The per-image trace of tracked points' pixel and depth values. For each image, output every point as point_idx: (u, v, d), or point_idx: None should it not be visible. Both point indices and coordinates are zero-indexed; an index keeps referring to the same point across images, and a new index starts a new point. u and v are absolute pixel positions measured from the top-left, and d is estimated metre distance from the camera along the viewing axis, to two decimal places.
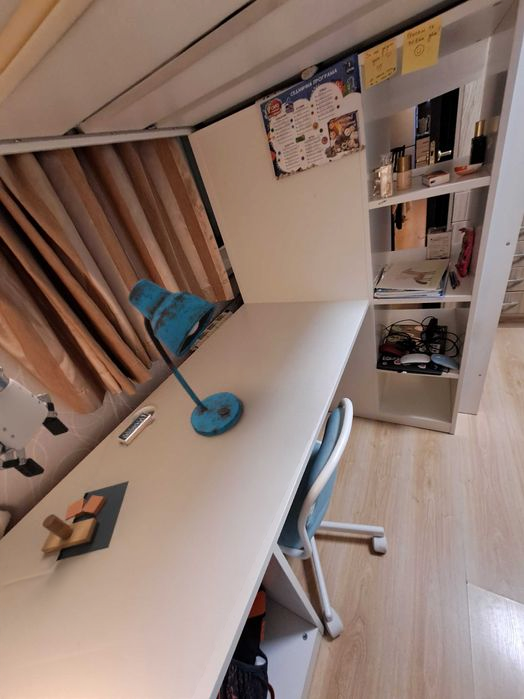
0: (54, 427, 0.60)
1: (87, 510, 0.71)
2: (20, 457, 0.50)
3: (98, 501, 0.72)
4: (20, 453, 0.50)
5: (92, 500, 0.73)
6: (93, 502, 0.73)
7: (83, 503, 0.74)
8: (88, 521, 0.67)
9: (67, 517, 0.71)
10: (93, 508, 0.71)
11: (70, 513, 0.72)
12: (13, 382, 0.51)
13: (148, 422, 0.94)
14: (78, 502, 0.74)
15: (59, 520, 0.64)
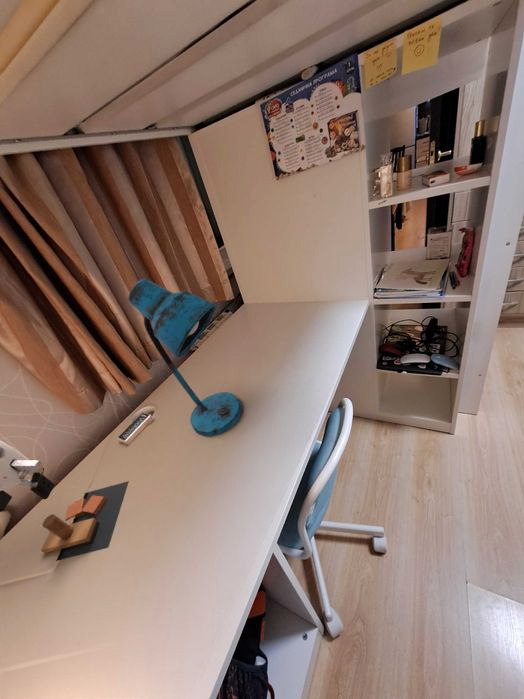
0: None
1: (87, 510, 0.71)
2: None
3: (98, 501, 0.72)
4: None
5: (92, 500, 0.73)
6: (93, 502, 0.73)
7: (83, 503, 0.74)
8: (88, 521, 0.67)
9: (67, 517, 0.71)
10: (93, 508, 0.71)
11: (70, 513, 0.72)
12: None
13: (148, 422, 0.94)
14: (78, 502, 0.74)
15: (59, 520, 0.64)
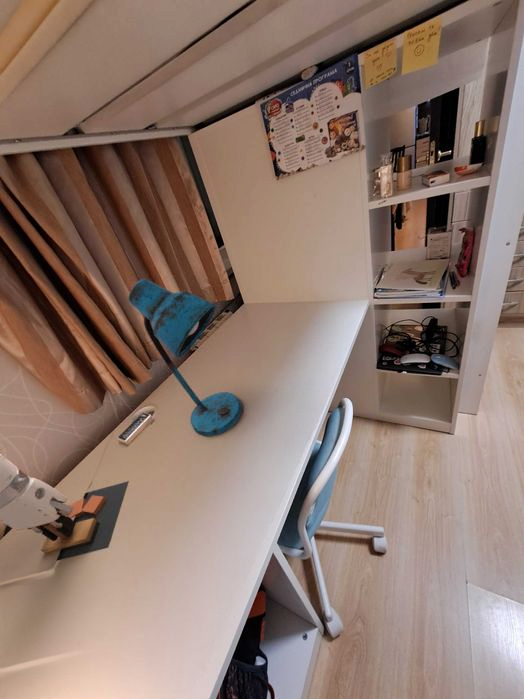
0: None
1: (87, 510, 0.71)
2: (34, 530, 0.62)
3: (98, 501, 0.72)
4: (33, 529, 0.61)
5: (92, 500, 0.73)
6: (93, 502, 0.73)
7: (83, 503, 0.74)
8: (88, 521, 0.67)
9: None
10: (93, 508, 0.71)
11: None
12: (19, 500, 0.55)
13: (148, 422, 0.94)
14: (78, 502, 0.74)
15: None
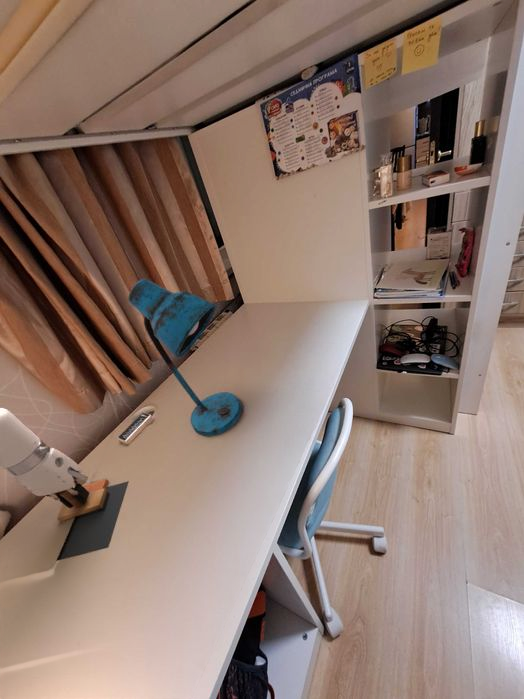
0: None
1: None
2: (53, 497, 0.68)
3: (101, 483, 0.77)
4: (52, 496, 0.68)
5: (94, 485, 0.77)
6: (97, 486, 0.77)
7: None
8: (99, 491, 0.73)
9: None
10: (99, 489, 0.75)
11: None
12: (41, 467, 0.61)
13: (148, 422, 0.94)
14: (86, 486, 0.77)
15: None
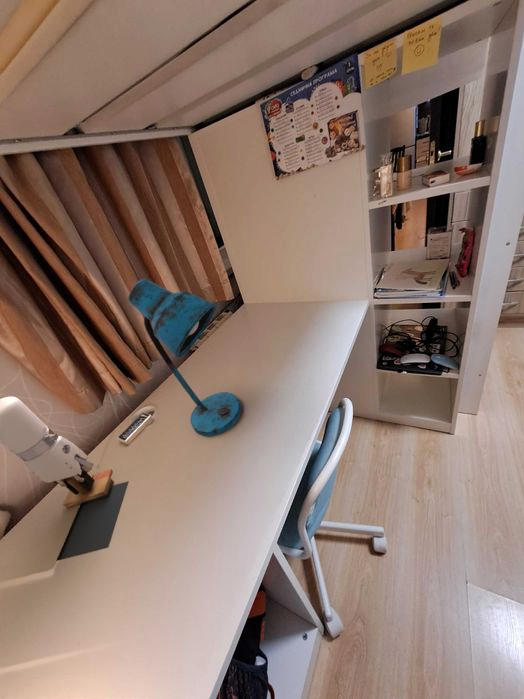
0: None
1: None
2: (60, 484, 0.71)
3: (107, 474, 0.80)
4: (59, 482, 0.71)
5: (100, 476, 0.80)
6: (102, 476, 0.80)
7: None
8: (104, 479, 0.76)
9: None
10: None
11: None
12: (50, 453, 0.64)
13: (148, 422, 0.94)
14: (92, 476, 0.81)
15: None
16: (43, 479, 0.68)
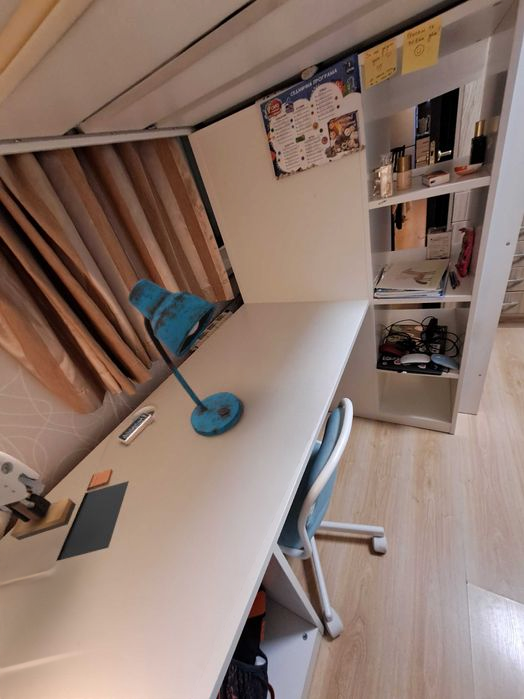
0: None
1: (99, 483, 0.78)
2: (4, 510, 0.57)
3: (107, 473, 0.80)
4: (3, 508, 0.57)
5: (100, 475, 0.80)
6: (102, 476, 0.80)
7: None
8: (63, 501, 0.62)
9: None
10: (105, 479, 0.79)
11: None
12: None
13: (148, 422, 0.94)
14: (92, 476, 0.81)
15: None
16: None
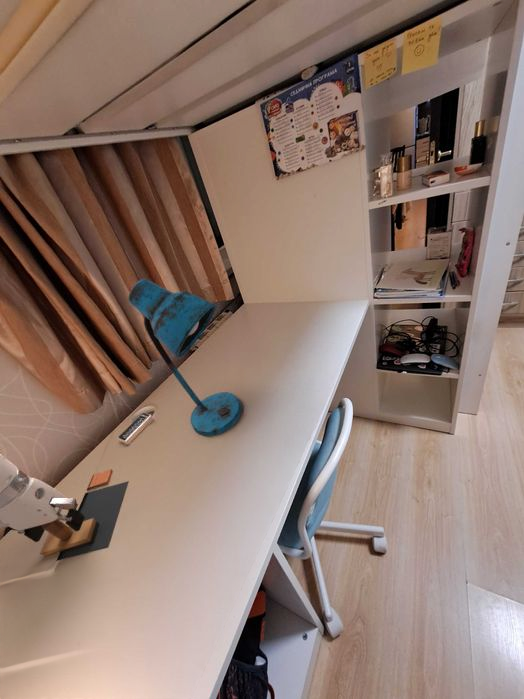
0: None
1: (99, 483, 0.78)
2: (18, 530, 0.61)
3: (107, 473, 0.80)
4: (19, 529, 0.61)
5: (100, 475, 0.80)
6: (102, 476, 0.80)
7: None
8: (88, 521, 0.67)
9: None
10: (105, 479, 0.79)
11: None
12: (19, 500, 0.55)
13: (148, 422, 0.94)
14: (92, 476, 0.81)
15: (59, 521, 0.63)
16: (13, 527, 0.59)
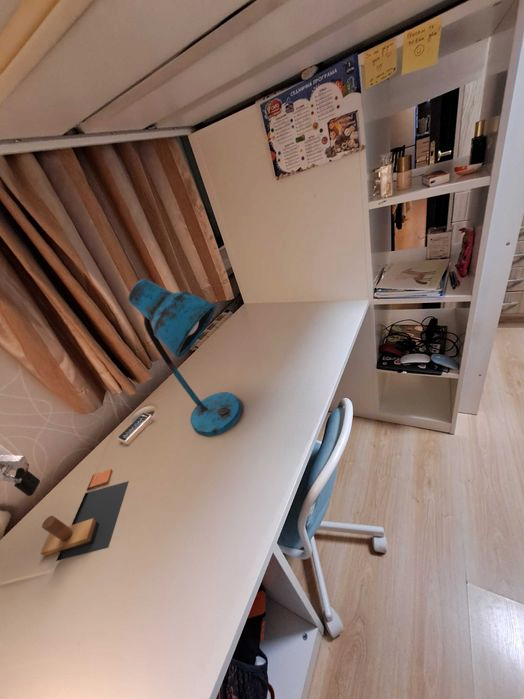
0: None
1: (99, 483, 0.78)
2: None
3: (107, 473, 0.80)
4: None
5: (100, 475, 0.80)
6: (102, 476, 0.80)
7: None
8: (88, 521, 0.67)
9: None
10: (105, 479, 0.79)
11: None
12: None
13: (148, 422, 0.94)
14: (92, 476, 0.81)
15: (59, 521, 0.63)
16: None
